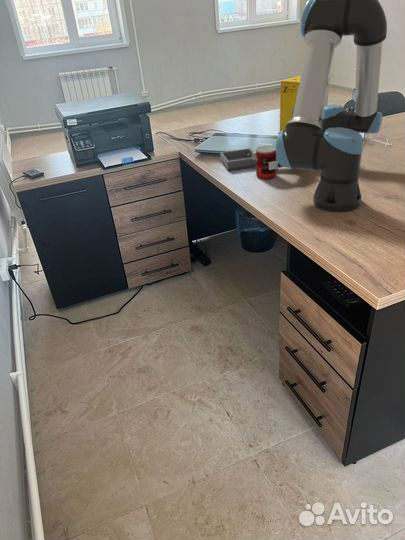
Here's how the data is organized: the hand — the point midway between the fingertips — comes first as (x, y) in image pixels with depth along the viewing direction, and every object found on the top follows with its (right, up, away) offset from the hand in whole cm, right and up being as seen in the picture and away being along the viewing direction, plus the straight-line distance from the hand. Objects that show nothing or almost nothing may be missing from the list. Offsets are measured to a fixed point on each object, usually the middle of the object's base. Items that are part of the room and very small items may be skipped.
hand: (260, 161), depth 155 cm
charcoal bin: (-7, +4, +18) cm, 20 cm away
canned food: (+3, -5, +4) cm, 7 cm away
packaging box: (+28, +28, +49) cm, 63 cm away
